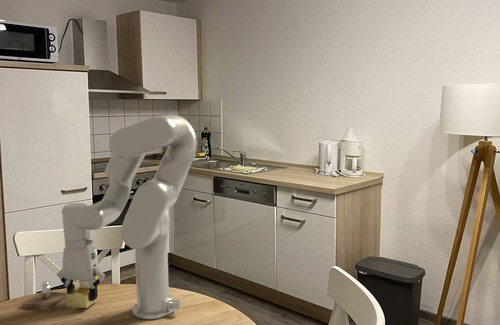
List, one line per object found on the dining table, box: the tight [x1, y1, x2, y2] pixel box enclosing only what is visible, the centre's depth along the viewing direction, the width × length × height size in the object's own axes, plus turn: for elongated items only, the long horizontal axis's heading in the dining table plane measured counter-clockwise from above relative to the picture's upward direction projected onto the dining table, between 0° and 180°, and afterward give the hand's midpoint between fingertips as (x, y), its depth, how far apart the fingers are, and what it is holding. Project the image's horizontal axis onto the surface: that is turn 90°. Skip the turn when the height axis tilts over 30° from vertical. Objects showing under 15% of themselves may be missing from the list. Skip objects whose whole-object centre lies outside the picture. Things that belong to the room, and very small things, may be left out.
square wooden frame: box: [65, 285, 100, 309], centre depth 148 cm, size 7×7×4 cm
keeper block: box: [22, 280, 67, 312], centre depth 150 cm, size 10×10×7 cm
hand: (82, 298), depth 148 cm, fingers closed on square wooden frame, 7 cm apart
